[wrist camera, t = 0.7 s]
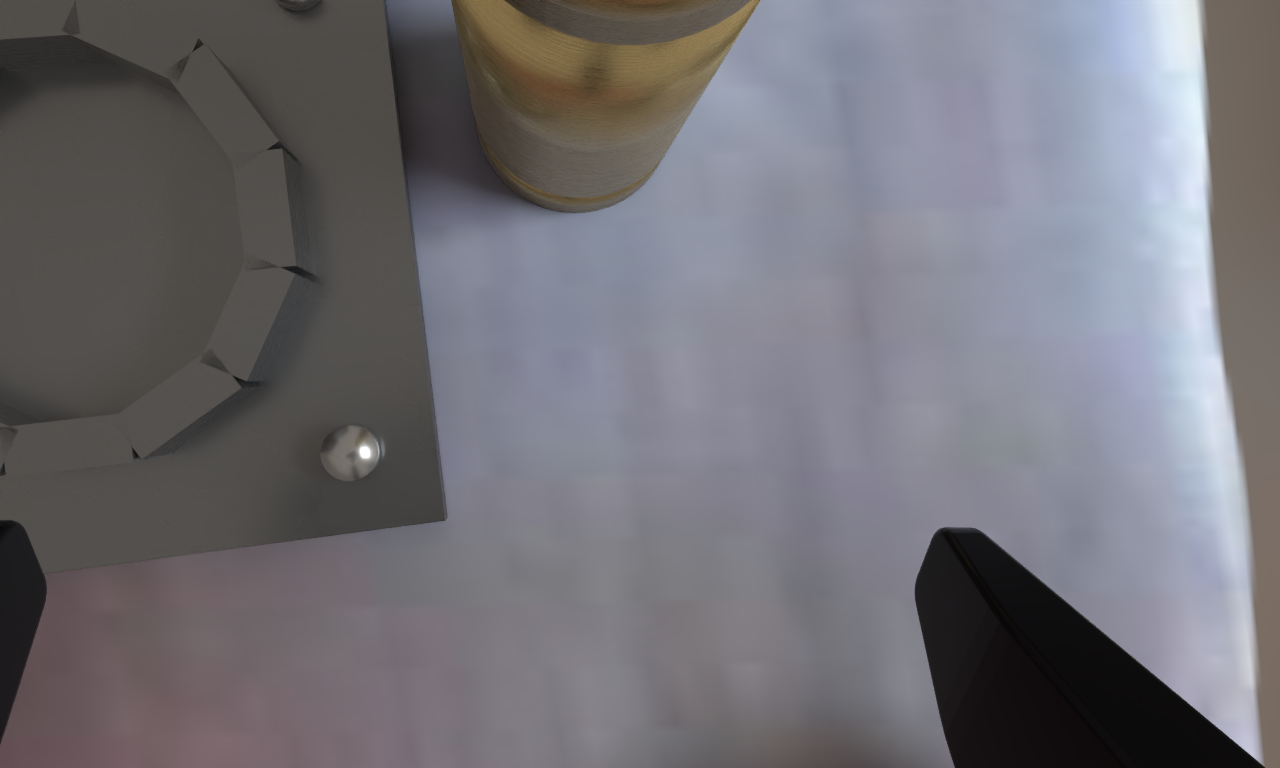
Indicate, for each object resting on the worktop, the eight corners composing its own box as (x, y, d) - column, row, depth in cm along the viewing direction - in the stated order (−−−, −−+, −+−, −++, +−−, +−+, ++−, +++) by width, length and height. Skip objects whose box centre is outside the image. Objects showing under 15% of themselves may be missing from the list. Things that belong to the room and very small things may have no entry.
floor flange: (447, 516, 22) (439, 531, 20) (-214, 603, 20) (-303, 630, 18) (374, -89, 22) (357, -142, 19) (-302, -53, 20) (-402, -105, 18)
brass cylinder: (681, 203, 23) (889, -35, 10) (487, 221, 22) (432, -5, 9) (658, 10, 22) (838, -490, 10) (463, 23, 22) (375, -487, 9)
